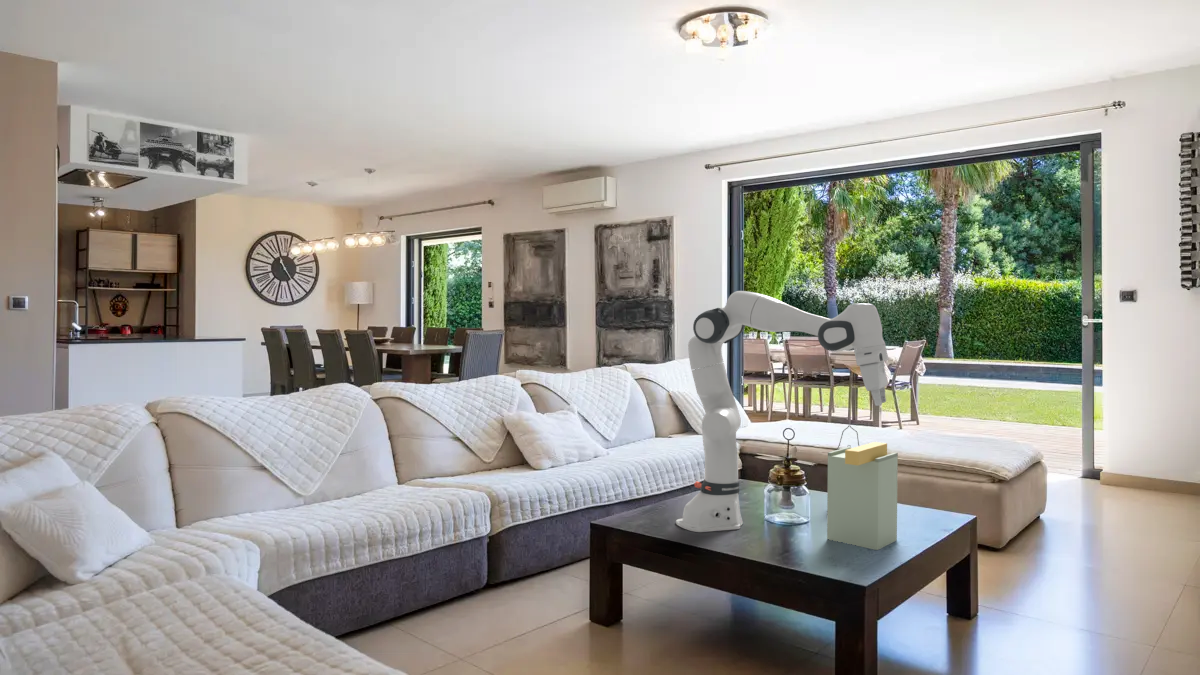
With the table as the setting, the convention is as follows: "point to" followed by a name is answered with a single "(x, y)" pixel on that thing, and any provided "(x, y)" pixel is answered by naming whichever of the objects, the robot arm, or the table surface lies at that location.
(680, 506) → the table surface
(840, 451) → the sage green slotted block
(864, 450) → the bar
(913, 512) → the table surface
